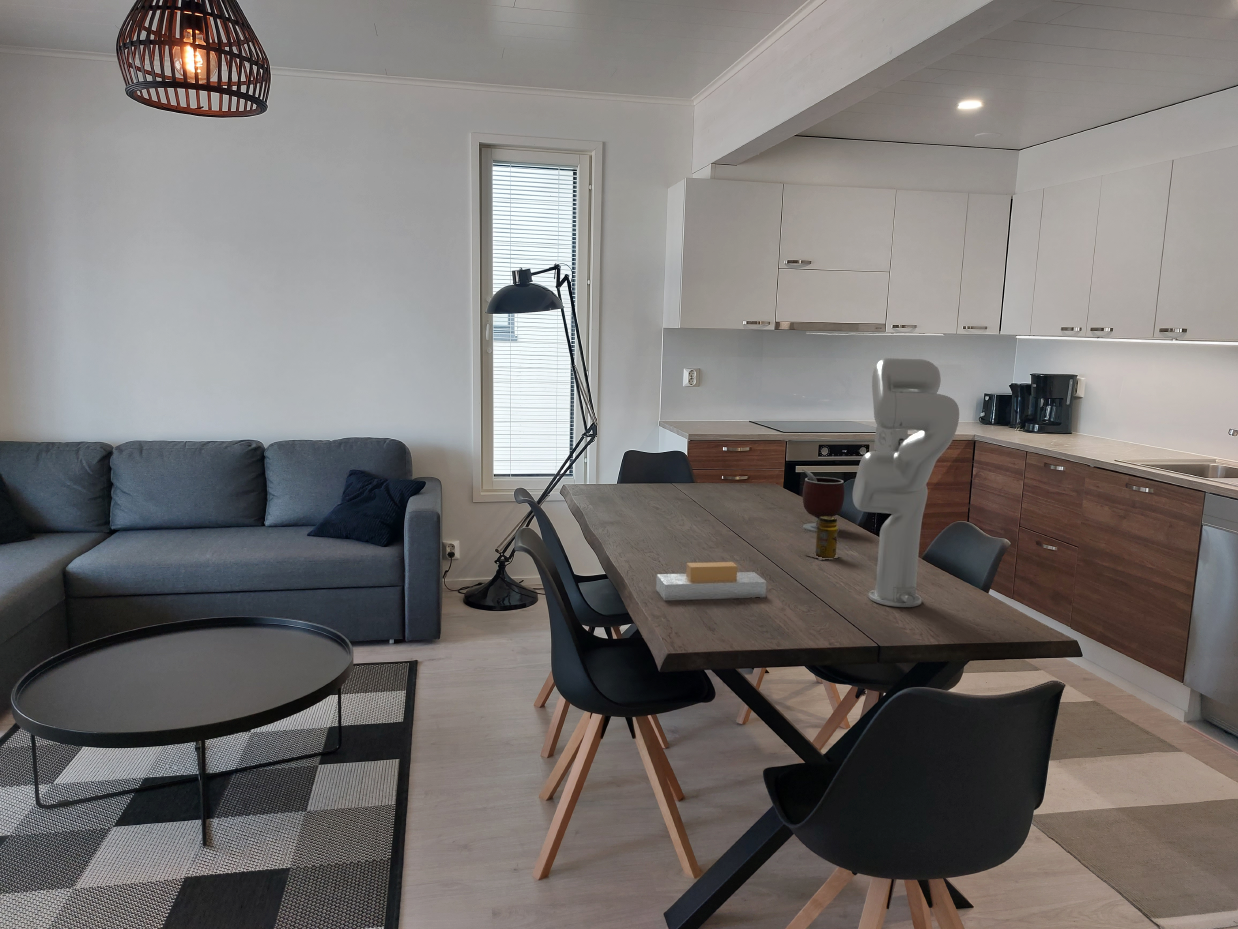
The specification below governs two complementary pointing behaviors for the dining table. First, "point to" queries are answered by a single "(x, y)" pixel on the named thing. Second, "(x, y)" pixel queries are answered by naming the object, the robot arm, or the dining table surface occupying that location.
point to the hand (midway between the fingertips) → (889, 474)
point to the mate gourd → (822, 497)
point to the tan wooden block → (711, 571)
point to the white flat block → (710, 587)
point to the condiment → (826, 537)
